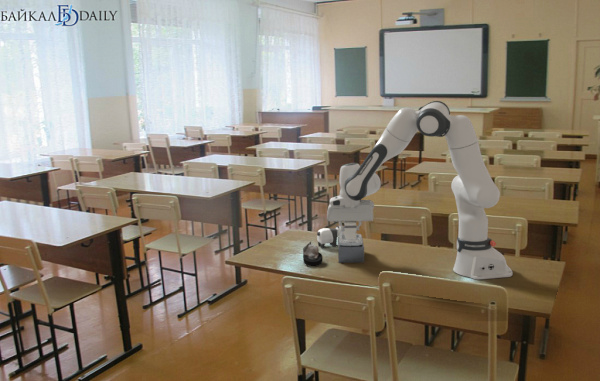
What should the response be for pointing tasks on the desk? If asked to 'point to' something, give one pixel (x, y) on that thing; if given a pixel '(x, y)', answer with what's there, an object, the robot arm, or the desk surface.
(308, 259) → the black based translucent ornament
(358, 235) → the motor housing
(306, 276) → the desk surface
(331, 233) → the giant panda
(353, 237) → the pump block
